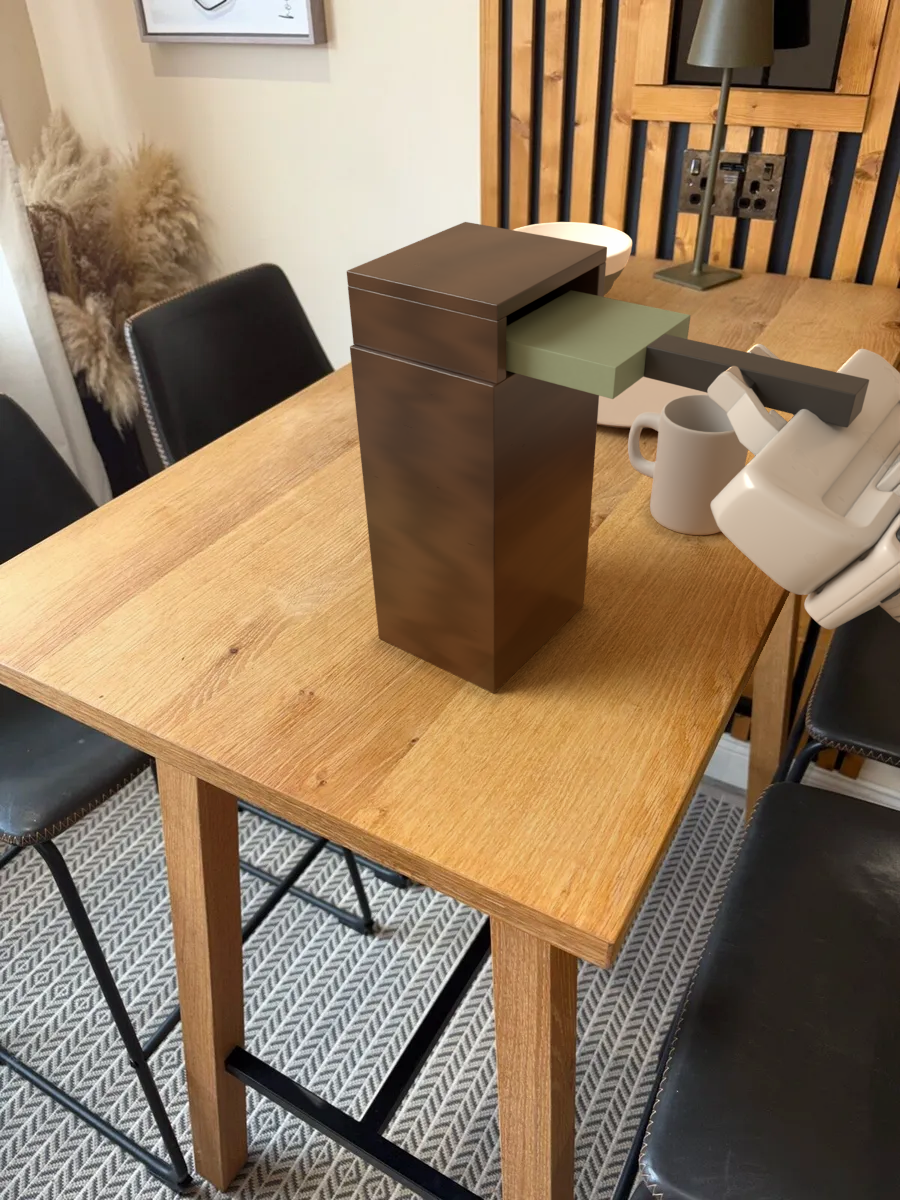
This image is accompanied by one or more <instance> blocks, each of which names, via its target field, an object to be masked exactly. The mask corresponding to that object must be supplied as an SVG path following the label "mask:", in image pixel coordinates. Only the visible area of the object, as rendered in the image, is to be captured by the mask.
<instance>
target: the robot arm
mask: <svg viewBox="0 0 900 1200" xmlns="http://www.w3.org/2000/svg"><path fill="white" fill-rule="evenodd" d="M746 352H748V353H752V354H757V355H761V356H766V357H770V358H775V359H779V360H781V359H780V358H779V357H778V356H777V355H776V354H775V353H773V352H772V351H771V350H770V349H769V348H768V347H766V345H764V344H763V343H756V344H755V345H753V346H751V347H750V348H749V350H747V351H746ZM835 372H838V373H842V374H847V375H851V376H856V377H860V378H865V379H869V384H868V388H867V392H866V395H865V399H864V403H863V407H862V411H861V412H860V414H859V415H858V416H857V417H856V418H855V419H854V421H853V422H852V423H851V424H850V425H849V426H848V427H842V426H838V425H834V424H830V423H826V422H823V421H822V420H820V419H819V418H818V417H817V416H816V415H815V414H813V413H812V412H810V411H808V410H806V409H802V410H800V411H799V412H798V413H797V414H796V415H794V414H792V415H793V416H792V417H791V418H790V419H789V420H788V421H787V420H786V418H784V417H783V416H782V415H781V414H780V413H778V412H777V410H774V409H771V410H770V411H768V410H767V408H766V407H764V406H763V404H762V403H761V401H760V400H759V399H758V397H757V396H756V394H755V393H754V391H753V390H752V389H751V387H752V386H753V385H754V384H755V382H754V381H753V380H752V379H751V378H750V377H748V376H747V375H746V374H743V372H742V370H741V369H740V368H738V367H737V366H730V367H729V368H727V369H726V370H725V371H724V372H722V373H721V374H720V375H719V376H718V377H717V378H716V379H715V381H714V382H713V383H712V384H711V385H710V386H709V388H708V390H707V391H708V395H709V397H710V398H711V399H712V400H713V401H714V402H715V403H717V404H718V405H719V406H720V407H721V408H722V409H723V410H724V411H725V412H726V413H727V416H728V418H729V420H730V423H731V425H732V427H733V429H734V431H735V433H736V435H737V437H738V439H739V441H740V443H742V444H743V445H744V446H745V447H746V448H747V449H748V452H750V453H751V454H753V458H751V460H750V461H749V462H748V463H747V464H745V467H744V468H743V469H742V470H741V471H740V472H739V473H738V474H737V475H736V476H735V477H734V478H733V479H732V480H731V481H730V482H729V483H728V484H727V486H726V487H725V488H724V489H723V490H722V491H721V492H720V493H719V494H718V495H717V496H716V497H715V498H714V499H713V500H712V501H711V505H710V506H711V510H712V513H713V516H714V518H715V521H716V523H717V526H718V527H719V529H720V530H721V533H722V534H723V535H724V536H725V537H726V539H728V540H729V541H730V542H731V543H732V544H733V546H735V547H736V548H737V549H738V550H739V552H741V553H742V554H743V555H744V556H745V557H746V558H747V559H748V560H749V561H751V562H752V564H753V565H754V566H756V567H757V568H758V569H759V570H760V571H762V572H763V573H764V574H765V575H766V576H767V577H769V578H770V579H771V580H772V581H773V582H775V584H777V585H778V586H780V587H781V588H782V589H784V590H786V591H788V592H790V593H791V594H794V595H799V596H805V595H807V596H806V598H805V599H804V603H803V606H804V610H805V611H806V613H807V614H808V615H809V616H810V617H811V618H812V620H814V621H815V622H816V623H817V624H818V625H819V626H821V627H822V628H824V629H826V630H834V629H837V628H838V627H841V626H843V625H844V624H846V623H848V622H850V621H851V620H853V619H856V618H858V617H859V616H861V615H862V614H865V613H866V612H868V611H871V610H873V609H874V608H876V607H878V606H879V607H880V608H881V609H882V610H884V611H885V612H886V613H887V614H888V615H889V616H890V617H891V618H892V619H894V620H895V621H896V622H898V623H900V371H898V369H896V368H895V366H893V365H892V364H891V363H890V362H889V361H888V360H886V359H885V358H884V357H883V355H880V354H878V353H877V352H874V351H871V350H869V349H866V348H859V349H857V350H856V351H855V352H854V353H853V354H852V355H851V356H850V357H849V358H848V359H847V360H846V361H845V362H844V363H843V364H842V365H840V367H839V368H838V369H837V370H836V371H835Z"/></svg>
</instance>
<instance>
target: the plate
mask: <svg viewBox="0 0 900 1200" xmlns="http://www.w3.org/2000/svg"><path fill="white" fill-rule="evenodd" d="M687 395H708V393H706V392H702V391H698V390H694V389H690V388H686V387H682V386H678V385H674V384H670V383H666V382H662V381H658V380H654V379H650V378H646V377H642V378H641V379H640V380H638V381H637V382H636V383H634V384H633V385H632V386H630V387H629V388H628V389H626V390H625V391H624V392H622V393H621V394H620V395H618V396H617V397H615V398H614V399H610V398H607V397H603V396H599V405H598V418H597V426H603V427H608V428H616V429H631V426H632V424H633V422H634V420H635V419H636V417H637V416H638V415H640V414H642V413H644V412H656V413H661V412H662V409H663V407H664V406H665V405H666V404H667V403H668V402H669V401H671V400H673V399H675V398H678V397H682V396H687ZM643 429H651V428H650V427H644V428H643Z"/></svg>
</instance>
